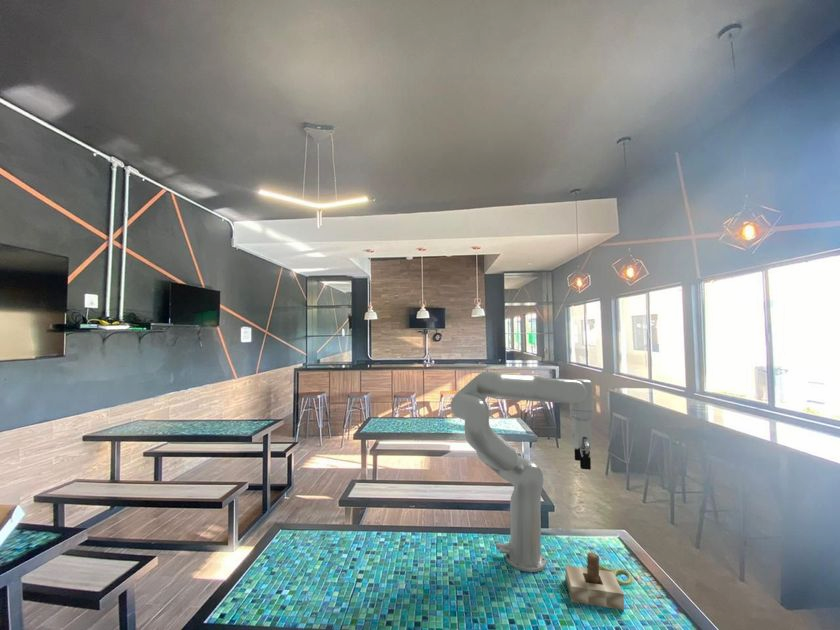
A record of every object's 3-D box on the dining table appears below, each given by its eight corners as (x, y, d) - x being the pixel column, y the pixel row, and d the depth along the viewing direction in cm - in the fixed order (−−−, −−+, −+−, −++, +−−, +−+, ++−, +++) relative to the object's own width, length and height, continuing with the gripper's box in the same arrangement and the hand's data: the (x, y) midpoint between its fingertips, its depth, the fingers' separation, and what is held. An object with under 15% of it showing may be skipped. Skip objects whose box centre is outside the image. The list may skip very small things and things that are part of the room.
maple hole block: (571, 601, 100) (571, 586, 101) (565, 579, 110) (565, 565, 110) (624, 610, 98) (623, 593, 98) (613, 586, 107) (612, 571, 108)
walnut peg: (588, 595, 103) (588, 557, 103) (585, 588, 106) (586, 551, 106) (600, 597, 102) (600, 559, 103) (597, 590, 105) (597, 553, 106)
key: (587, 565, 118) (587, 558, 119) (631, 575, 113) (631, 568, 114) (587, 577, 112) (587, 570, 112) (634, 589, 107) (633, 581, 107)
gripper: (566, 410, 140) (566, 456, 138) (574, 418, 123) (575, 471, 121) (587, 411, 138) (588, 458, 137) (599, 419, 121) (600, 473, 120)
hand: (582, 464), depth 129 cm, fingers open, 9 cm apart
